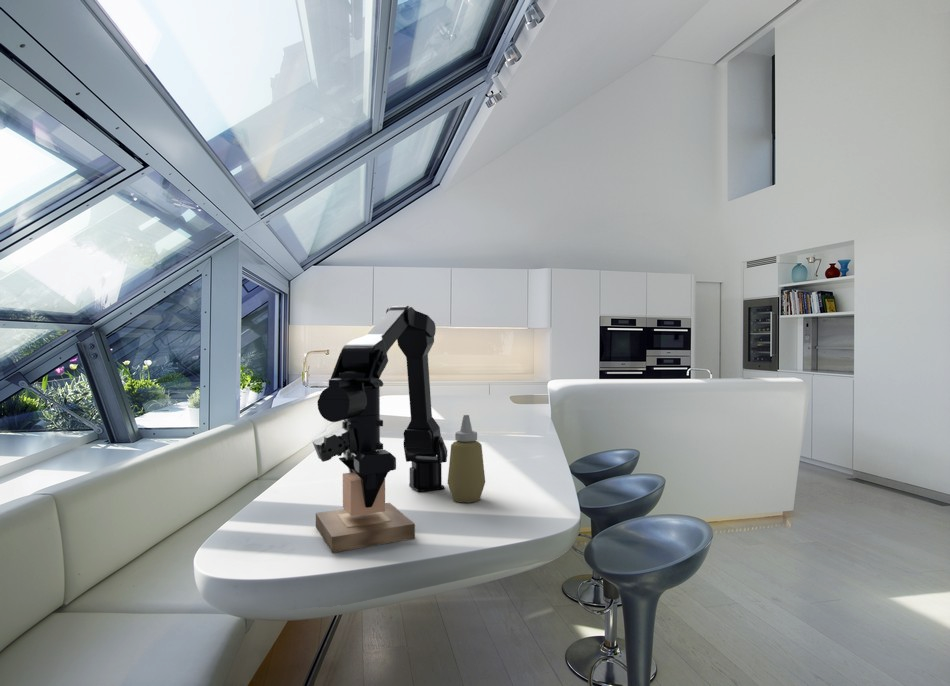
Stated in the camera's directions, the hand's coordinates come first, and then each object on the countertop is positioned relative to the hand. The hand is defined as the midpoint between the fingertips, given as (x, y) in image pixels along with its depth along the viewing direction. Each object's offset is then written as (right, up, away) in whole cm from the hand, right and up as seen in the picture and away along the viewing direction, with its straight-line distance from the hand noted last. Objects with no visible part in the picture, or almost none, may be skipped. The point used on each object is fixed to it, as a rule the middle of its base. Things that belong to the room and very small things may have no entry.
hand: (363, 502), depth 97 cm
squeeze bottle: (+18, -6, +20) cm, 27 cm away
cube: (0, -1, 0) cm, 1 cm away
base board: (0, -5, 0) cm, 5 cm away
